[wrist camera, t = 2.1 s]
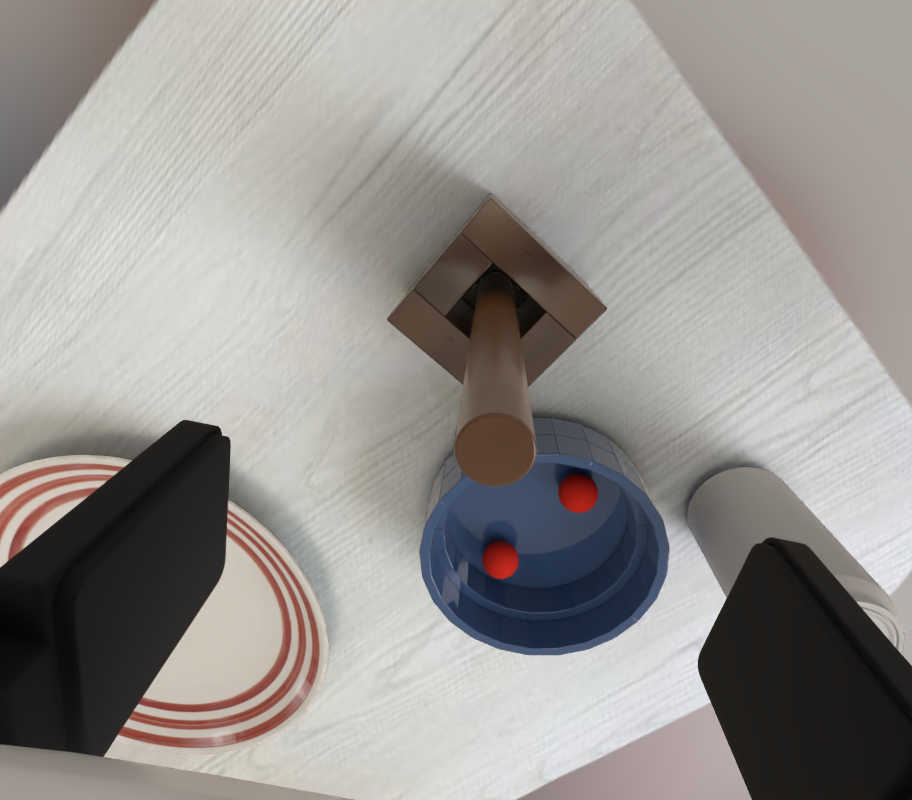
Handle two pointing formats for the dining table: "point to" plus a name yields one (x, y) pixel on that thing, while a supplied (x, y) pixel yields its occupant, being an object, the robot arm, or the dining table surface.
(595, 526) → the bowl
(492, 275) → the stirring stick
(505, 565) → the tomato
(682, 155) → the dining table surface
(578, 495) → the tomato
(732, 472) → the beverage can
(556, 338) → the holder
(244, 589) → the dinner plate
